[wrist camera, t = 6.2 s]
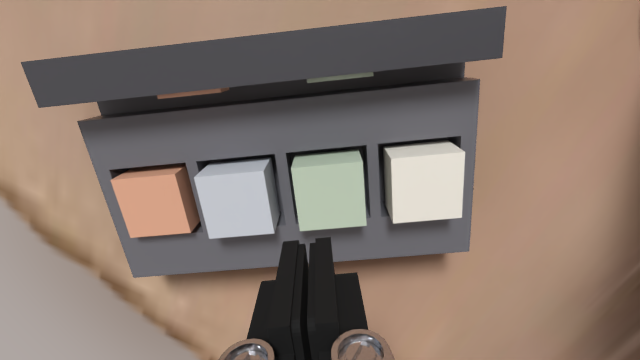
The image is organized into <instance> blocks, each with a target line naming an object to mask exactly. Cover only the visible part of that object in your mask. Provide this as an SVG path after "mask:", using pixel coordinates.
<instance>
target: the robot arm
mask: <svg viewBox="0 0 640 360" xmlns="http://www.w3.org/2000/svg"><path fill="white" fill-rule="evenodd" d="M219 360H395V359H394V356H393V354H392V352H391V350H390V347H389V345H388V344H387V342H386V341H385V339H384V338H382V337H381V336H380V335H379V334H377V333H375V332H373V331H370V330H368V326H367V321H366V315H365V310H364V305H363V300H362V295H361V290H360V285H359V280H358V275H357V272H356V273H346V274H335V272H334V263H333V253H332V244H331V237H324V238H315V243H310V248H309V267H308V259H307V252H306V245H305V244H300V243H299V240H294V241H284V242H283V244H282V249H281V254H280V260H279V265H278V271H277V276H276V280H271V281H262V282H261V285H260V288H259V292H258V296H257V300H256V304H255V308H254V312H253V316H252V320H251V324H250V328H249V332H248V336H247V339H246V340H243V341H240V342H237V343H235V344H234V345H232V346H230V347H229V348H228V349H227V350H226V351H225V352H224V353H223V354H222V355H221V357H220V358H219Z"/></svg>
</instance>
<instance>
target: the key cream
mask: <svg viewBox="0 0 640 360" xmlns="http://www.w3.org/2000/svg"><path fill="white" fill-rule="evenodd" d="M383 157H384V183H385V205H386V208H387V210H388V212H389V215H390V217H391V220H392V222H393V223H405V222H417V221H429V220H441V219H453V218H462V205H463V185H464V166H465V151H463V150H462V149H460V148H459V147H457V146H456V145H454V144H453V143H451V142H450V141H448V140H447V141H437V142H426V143H416V144H405V145H395V146H385V147H383Z"/></svg>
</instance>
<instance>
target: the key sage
mask: <svg viewBox="0 0 640 360" xmlns="http://www.w3.org/2000/svg"><path fill="white" fill-rule="evenodd" d="M291 172H292V179H293V186H294V193H295V200H296V208H297V215H298V222H299V229H300V231H310V230H322V229H334V228H346V227H358V226H367V223H366V206H365V190H364V174H363V161H362V158H361V155H360V153H359V150H358V149H353V150H343V151H332V152H322V153H312V154H301V155H295V157H294V160H293V163H292V167H291Z"/></svg>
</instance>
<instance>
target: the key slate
mask: <svg viewBox="0 0 640 360" xmlns="http://www.w3.org/2000/svg"><path fill="white" fill-rule="evenodd" d="M194 180H195V184H196V188H197V192H198V196H199V200H200V204H201V208H202V212H203V216H204V220H205V224H206V228H207V232H208V236H209V239H214V238H226V237H238V236H250V235H262V234H274V233H275V229H276V226H277V222H278V219H279V216H280V210H279V204H278V198H277V192H276V186H275V179H274V173H273V167H272V161H271V157H270V158H259V159H249V160H239V161H228V162H218V163H209V164H208V165H207V166H206V167H205V168H204V169H203V170H202V171H200V172H199V173H198V174H197V175H196V176H195V177H194Z"/></svg>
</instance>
